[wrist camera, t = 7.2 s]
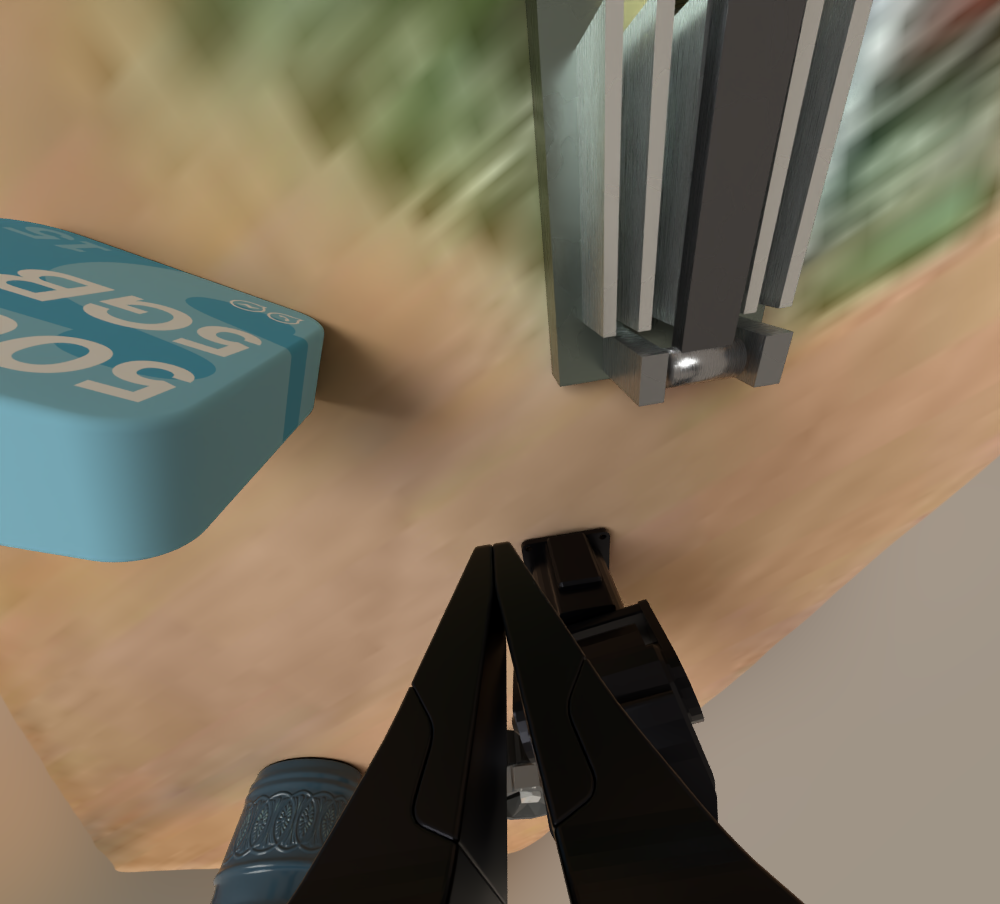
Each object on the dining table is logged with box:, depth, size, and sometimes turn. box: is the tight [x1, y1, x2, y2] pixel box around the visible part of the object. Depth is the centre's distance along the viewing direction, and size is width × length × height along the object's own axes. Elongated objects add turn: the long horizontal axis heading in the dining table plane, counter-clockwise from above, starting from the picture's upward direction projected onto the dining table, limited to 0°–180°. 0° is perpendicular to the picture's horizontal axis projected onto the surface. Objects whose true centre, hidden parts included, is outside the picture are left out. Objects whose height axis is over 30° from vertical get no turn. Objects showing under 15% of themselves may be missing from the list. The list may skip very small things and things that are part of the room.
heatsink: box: [526, 0, 873, 406], centre depth 13 cm, size 15×10×6 cm, turn 8°
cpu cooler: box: [507, 730, 547, 820], centre depth 43 cm, size 10×6×10 cm
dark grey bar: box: [662, 0, 806, 388], centre depth 12 cm, size 13×3×2 cm, turn 8°
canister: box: [210, 759, 362, 904], centre depth 38 cm, size 13×13×18 cm
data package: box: [0, 218, 324, 562], centre depth 12 cm, size 12×4×12 cm, turn 68°
